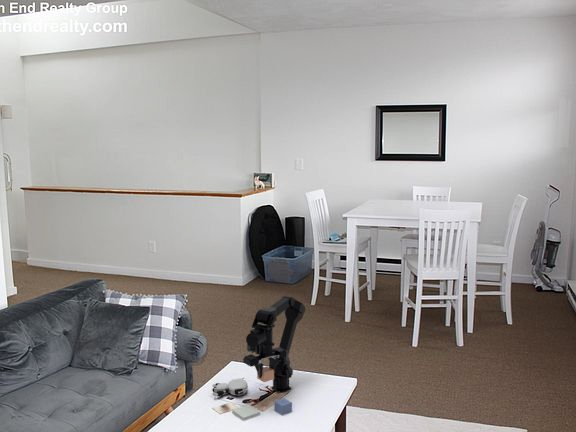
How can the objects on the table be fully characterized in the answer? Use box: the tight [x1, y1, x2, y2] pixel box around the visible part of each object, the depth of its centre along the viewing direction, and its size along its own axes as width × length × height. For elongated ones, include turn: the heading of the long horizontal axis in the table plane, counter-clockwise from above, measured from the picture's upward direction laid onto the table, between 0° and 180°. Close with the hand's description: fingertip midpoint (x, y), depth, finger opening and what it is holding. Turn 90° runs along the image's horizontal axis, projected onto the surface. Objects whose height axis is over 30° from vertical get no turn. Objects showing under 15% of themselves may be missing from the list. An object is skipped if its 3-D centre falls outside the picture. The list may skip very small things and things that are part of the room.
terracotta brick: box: [256, 366, 274, 383], centre depth 237 cm, size 5×5×4 cm
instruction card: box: [212, 401, 240, 415], centre depth 231 cm, size 9×6×1 cm, turn 128°
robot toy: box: [212, 377, 248, 397], centre depth 245 cm, size 12×4×15 cm
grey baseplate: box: [231, 404, 261, 421], centre depth 227 cm, size 8×8×1 cm
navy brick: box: [273, 398, 293, 416], centre depth 229 cm, size 5×5×4 cm
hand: (265, 376), depth 237 cm, fingers closed on terracotta brick, 5 cm apart
